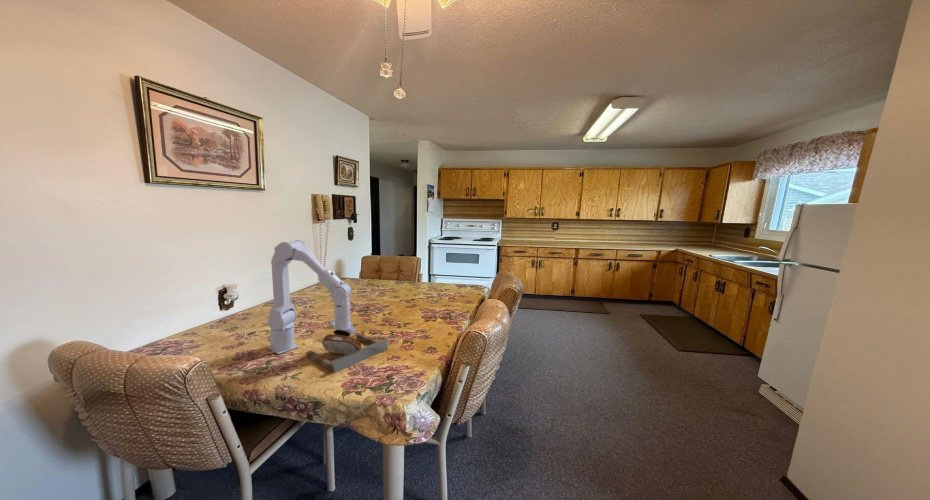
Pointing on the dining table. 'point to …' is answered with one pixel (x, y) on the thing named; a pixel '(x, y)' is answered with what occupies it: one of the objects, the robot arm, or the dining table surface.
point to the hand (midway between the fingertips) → (343, 347)
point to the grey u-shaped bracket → (351, 354)
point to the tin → (341, 344)
